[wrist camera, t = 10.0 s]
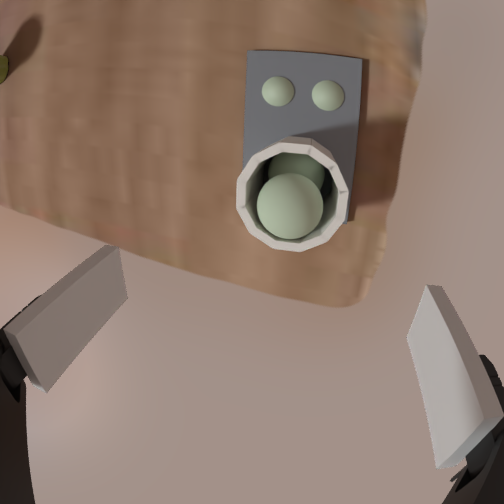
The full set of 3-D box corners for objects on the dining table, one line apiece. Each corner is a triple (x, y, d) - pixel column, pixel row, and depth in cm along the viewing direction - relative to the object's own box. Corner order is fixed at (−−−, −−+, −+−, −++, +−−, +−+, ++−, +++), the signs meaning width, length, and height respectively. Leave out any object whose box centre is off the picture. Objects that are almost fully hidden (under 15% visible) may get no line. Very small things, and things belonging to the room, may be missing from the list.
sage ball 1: (274, 150, 35) (267, 137, 29) (325, 155, 34) (328, 142, 28) (269, 200, 35) (261, 196, 30) (320, 206, 35) (323, 202, 29)
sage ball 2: (258, 158, 26) (246, 224, 25) (328, 165, 25) (321, 234, 24) (266, 185, 32) (256, 240, 31) (324, 192, 30) (317, 249, 29)
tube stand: (248, 51, 30) (223, 28, 20) (361, 60, 28) (380, 38, 18) (242, 210, 39) (217, 244, 29) (346, 222, 37) (356, 260, 27)
